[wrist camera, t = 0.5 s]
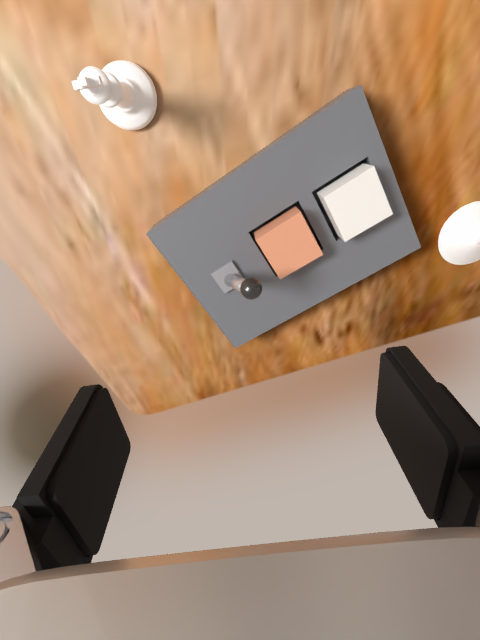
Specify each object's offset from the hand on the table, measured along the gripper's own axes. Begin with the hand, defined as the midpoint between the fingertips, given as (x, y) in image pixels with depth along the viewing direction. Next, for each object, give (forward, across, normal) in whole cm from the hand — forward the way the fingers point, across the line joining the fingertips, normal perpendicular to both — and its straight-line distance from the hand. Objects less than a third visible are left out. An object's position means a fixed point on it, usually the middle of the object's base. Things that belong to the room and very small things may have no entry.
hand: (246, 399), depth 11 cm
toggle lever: (+21, +1, +4) cm, 22 cm away
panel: (+25, -5, +1) cm, 26 cm away
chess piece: (+26, +8, -12) cm, 29 cm away
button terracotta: (+22, -5, +1) cm, 23 cm away
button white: (+22, -10, -1) cm, 25 cm away
